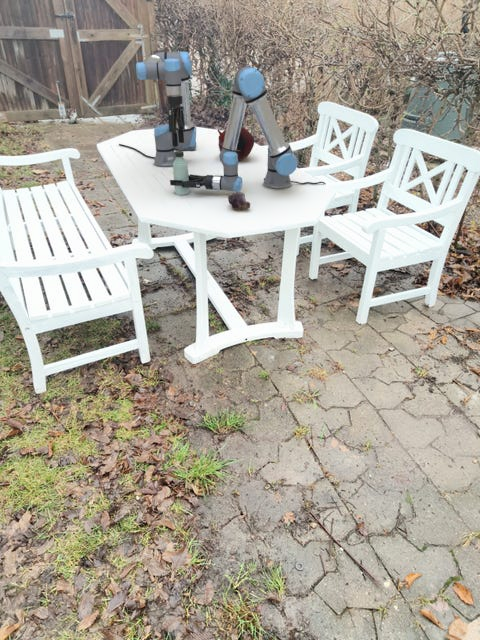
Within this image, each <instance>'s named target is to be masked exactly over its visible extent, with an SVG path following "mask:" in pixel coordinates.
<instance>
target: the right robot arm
mask: <svg viewBox="0 0 480 640" xmlns="http://www.w3.org/2000/svg"><path fill="white" fill-rule="evenodd" d="M231 94H232V101H231V105H230V110H229V115H228V119H227V125H226V129H225V130H226V133H225V138H224V142H223V147H222V151H221V152H220V151H219V161H220V162H221V164H222V167H223V175H221V174H220V175H219V174H214V175H213V174H205V175H198V174H189V181H182V180H174V179H170V180H169V185H170V186H174V187H175V186H182V188H189V189H191V188H192V189H201V188H202V187H204V188H205V190H209V191H211V190H212V191H213V190H214V191H218V192H220V191H225V192H241V190H242V189H243V177H242V176H239V161H238V155H237V153H236V148H237V144H238V140H239V135H240V131H241V127H243V123H244V118H245V114H246V109H247V106H250V108H251V110H252V112H253V115H254V118H255V120H256V122H257V124H258V126H259V128H260V131H261V133H262V135H263V138H264V139H265V142H266V144H267V169H266V171H267V172H266V173H265V176H264V178H263V186H264V187H266V188H269V189H272V190H273V189H274V190H283V189H287V188H289V187H291V185H292V184H291V183H294V184H299V185H307V184H310V185H319V184H323V185H326V184H327V183H326V182H325V181H317V182H311V181H305V182H299V181H296V180H295V181H294V180H291V177H290V175H292V174H294V173H295V171H296V170H297V169H298V164H299V163H298V157H297V156H296V155H295V154H294V152H293V149H292V147H291V145H290V143H289V142H287V141H285V138H284V136H283V133H282V131H281V129H280V126H279V124H278V122H277V119H276V117H275V115H274V112H273V110H272V107H271V105H270V102H269V100H268V96H267V95H268V90H267V87H266V85H265V79H264V75H262V73H261V72H260V71H259V70H258V69H256V68H254V67H252V66H249V65H245V66H244V65H243V66H242V67H240V68H239V69H237V71H236V73H235V75H234V79H233V85H232V90H231Z"/></svg>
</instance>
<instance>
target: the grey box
mask: <svg viewBox="0 0 480 640" xmlns="http://www.w3.org/2000/svg"><path fill="white" fill-rule="evenodd" d="M196 149H197V142H196V143H195V146H190V147H174V150H177V151H195V150H196Z"/></svg>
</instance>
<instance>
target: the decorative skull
mask: <svg viewBox="0 0 480 640" xmlns="http://www.w3.org/2000/svg"><path fill="white" fill-rule="evenodd" d="M217 133H218V150H219V153H220V152H221V151H222V147H223V142H224V138H225V133H226V129H225V130H223V131H221V130H220V129H217ZM254 146H255V138H254V136H253V135H252V133H251V132H249V130H247V129H246V128H245V127H243V126H242V127H241V131H240V135H239V140H238V144H237V148H236V153H237V155H238V162H239V161H242V160H244V159H246V158H248V157H249V155H251V152H252V151H253V148H254Z"/></svg>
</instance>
